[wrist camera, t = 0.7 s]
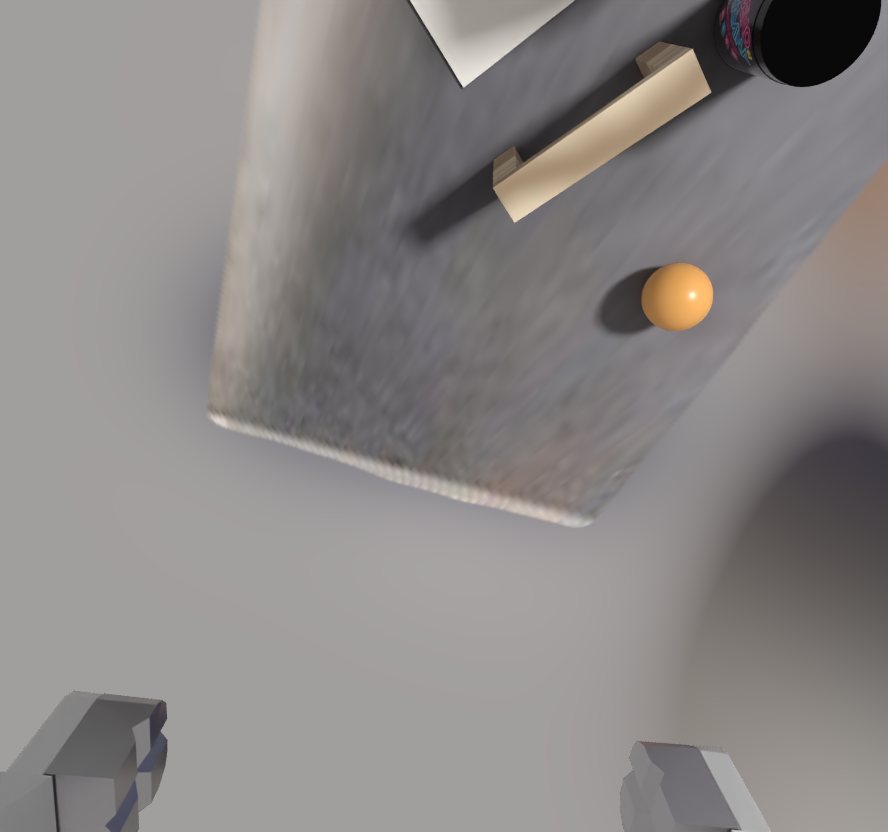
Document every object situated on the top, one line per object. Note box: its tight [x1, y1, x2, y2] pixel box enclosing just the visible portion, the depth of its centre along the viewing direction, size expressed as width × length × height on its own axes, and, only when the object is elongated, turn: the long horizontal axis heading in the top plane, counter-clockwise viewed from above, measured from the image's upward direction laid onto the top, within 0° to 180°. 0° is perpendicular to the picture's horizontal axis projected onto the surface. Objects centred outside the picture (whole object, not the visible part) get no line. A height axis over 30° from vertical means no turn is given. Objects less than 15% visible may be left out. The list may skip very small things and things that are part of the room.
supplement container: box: [715, 0, 881, 87], centre depth 41 cm, size 7×7×10 cm
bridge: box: [493, 41, 711, 222], centre depth 46 cm, size 3×15×10 cm, turn 125°
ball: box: [641, 263, 713, 331], centre depth 55 cm, size 6×6×6 cm
